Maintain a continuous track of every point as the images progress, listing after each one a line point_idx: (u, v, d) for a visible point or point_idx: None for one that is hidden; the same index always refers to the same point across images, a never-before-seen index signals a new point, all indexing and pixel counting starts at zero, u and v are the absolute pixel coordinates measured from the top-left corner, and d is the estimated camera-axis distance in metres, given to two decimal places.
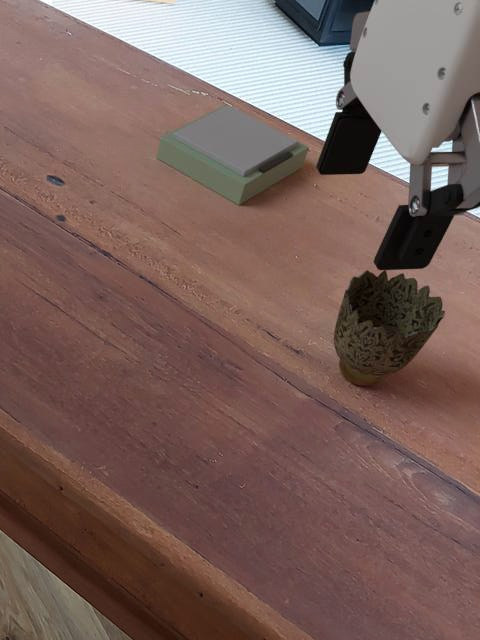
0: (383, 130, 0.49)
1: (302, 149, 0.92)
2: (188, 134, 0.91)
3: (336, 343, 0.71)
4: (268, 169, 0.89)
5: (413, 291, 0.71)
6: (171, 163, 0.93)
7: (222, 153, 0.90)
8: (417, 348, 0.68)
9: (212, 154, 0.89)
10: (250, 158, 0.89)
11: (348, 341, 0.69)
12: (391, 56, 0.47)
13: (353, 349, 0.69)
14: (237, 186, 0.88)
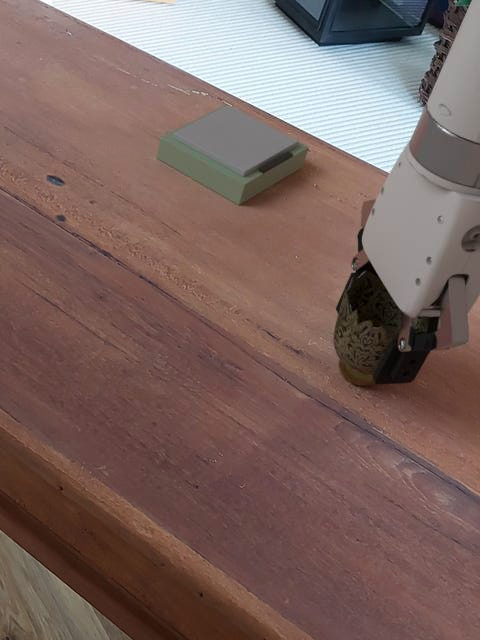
0: (387, 287, 0.66)
1: (302, 149, 0.92)
2: (188, 134, 0.91)
3: (336, 343, 0.71)
4: (268, 169, 0.89)
5: None
6: (171, 163, 0.93)
7: (222, 153, 0.90)
8: None
9: (212, 154, 0.89)
10: (250, 158, 0.89)
11: (348, 341, 0.69)
12: (393, 237, 0.64)
13: (353, 349, 0.69)
14: (237, 186, 0.88)
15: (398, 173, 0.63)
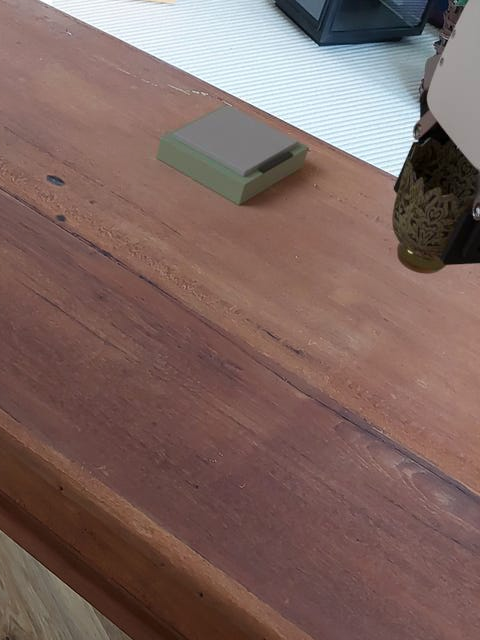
0: (459, 146, 0.57)
1: (302, 149, 0.92)
2: (188, 134, 0.91)
3: (396, 223, 0.63)
4: (268, 169, 0.89)
5: None
6: (171, 163, 0.93)
7: (222, 153, 0.90)
8: None
9: (212, 154, 0.89)
10: (250, 158, 0.89)
11: (411, 217, 0.61)
12: (467, 84, 0.55)
13: (417, 226, 0.61)
14: (237, 186, 0.88)
15: (475, 7, 0.54)
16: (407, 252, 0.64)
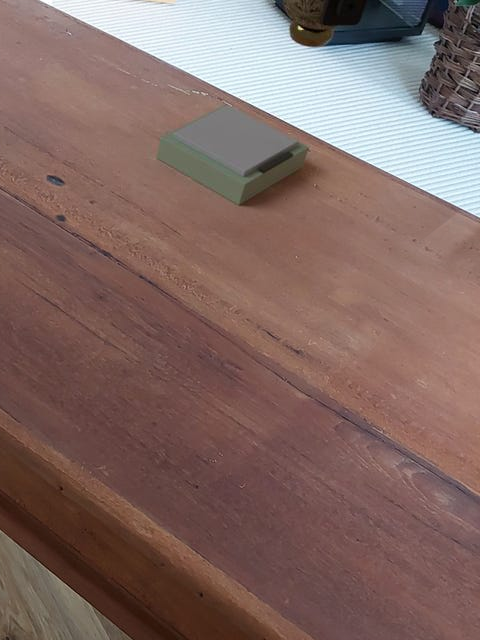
0: None
1: (302, 149, 0.92)
2: (188, 134, 0.91)
3: None
4: (268, 169, 0.89)
5: None
6: (171, 163, 0.93)
7: (222, 153, 0.90)
8: None
9: (212, 154, 0.89)
10: (250, 158, 0.89)
11: None
12: None
13: None
14: (237, 186, 0.88)
15: None
16: (296, 27, 0.75)
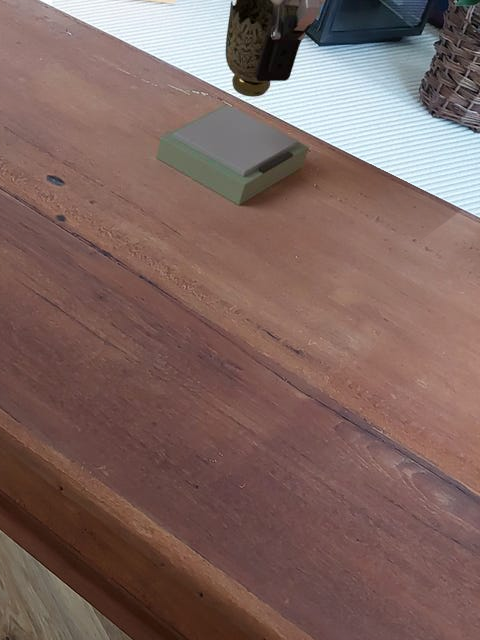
0: None
1: (302, 149, 0.92)
2: (188, 134, 0.91)
3: (226, 54, 0.85)
4: (268, 169, 0.89)
5: (290, 8, 0.84)
6: (171, 163, 0.93)
7: (222, 153, 0.90)
8: None
9: (212, 154, 0.89)
10: (250, 158, 0.89)
11: (234, 46, 0.83)
12: None
13: (238, 52, 0.83)
14: (237, 186, 0.88)
15: None
16: (237, 79, 0.86)
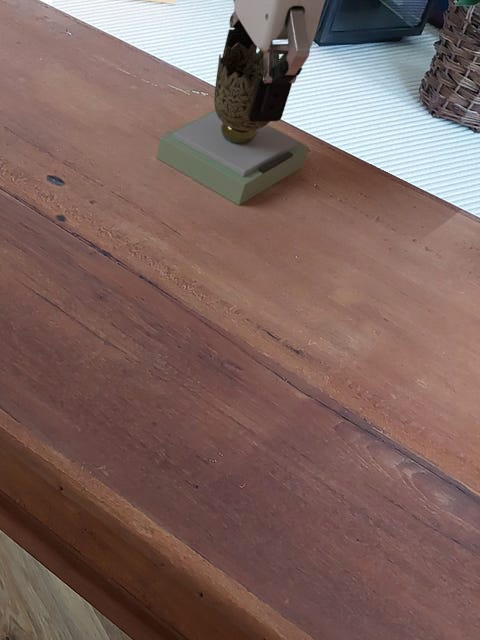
0: (249, 34, 0.82)
1: (302, 149, 0.92)
2: (188, 134, 0.91)
3: (215, 104, 0.89)
4: (268, 169, 0.89)
5: (276, 60, 0.88)
6: (171, 163, 0.93)
7: (222, 153, 0.90)
8: None
9: (212, 154, 0.89)
10: (250, 158, 0.89)
11: (222, 97, 0.87)
12: None
13: (226, 103, 0.87)
14: (237, 186, 0.88)
15: None
16: (226, 127, 0.90)
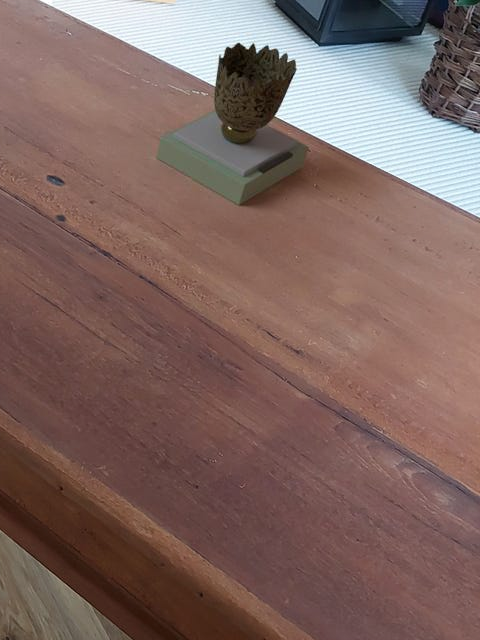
0: None
1: (302, 149, 0.92)
2: (188, 134, 0.91)
3: (215, 104, 0.89)
4: (268, 169, 0.89)
5: (276, 60, 0.88)
6: (171, 163, 0.93)
7: (222, 153, 0.90)
8: (275, 99, 0.85)
9: (212, 154, 0.89)
10: (250, 158, 0.89)
11: (222, 97, 0.87)
12: None
13: (226, 103, 0.87)
14: (237, 186, 0.88)
15: None
16: (226, 127, 0.90)
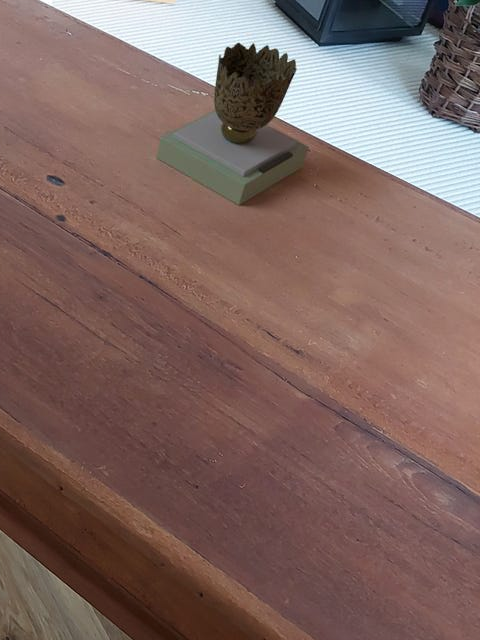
0: None
1: (302, 149, 0.92)
2: (188, 134, 0.91)
3: (215, 104, 0.89)
4: (268, 169, 0.89)
5: (276, 60, 0.88)
6: (171, 163, 0.93)
7: (222, 153, 0.90)
8: (275, 99, 0.85)
9: (212, 154, 0.89)
10: (250, 158, 0.89)
11: (222, 97, 0.87)
12: None
13: (226, 103, 0.87)
14: (237, 186, 0.88)
15: None
16: (226, 127, 0.90)
